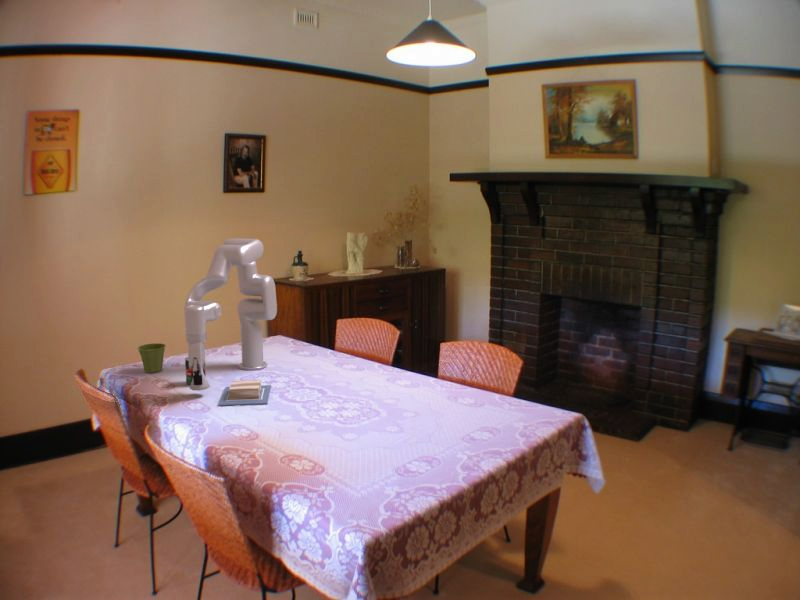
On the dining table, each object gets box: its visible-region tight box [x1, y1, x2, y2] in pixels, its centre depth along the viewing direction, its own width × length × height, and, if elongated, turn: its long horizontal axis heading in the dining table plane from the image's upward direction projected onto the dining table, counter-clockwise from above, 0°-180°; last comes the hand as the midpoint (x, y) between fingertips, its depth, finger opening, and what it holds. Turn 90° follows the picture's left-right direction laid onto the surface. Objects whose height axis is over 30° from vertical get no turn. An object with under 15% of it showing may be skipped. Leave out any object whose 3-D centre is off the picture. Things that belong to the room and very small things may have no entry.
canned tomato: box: [184, 356, 207, 387], centre depth 267 cm, size 8×8×11 cm
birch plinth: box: [229, 379, 262, 400], centre depth 252 cm, size 11×11×4 cm
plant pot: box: [136, 342, 167, 374], centre depth 285 cm, size 12×12×11 cm
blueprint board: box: [217, 384, 272, 407], centre depth 253 cm, size 22×18×1 cm
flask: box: [189, 366, 211, 392], centre depth 252 cm, size 7×7×10 cm
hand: (199, 381), depth 252 cm, fingers closed on flask, 5 cm apart
